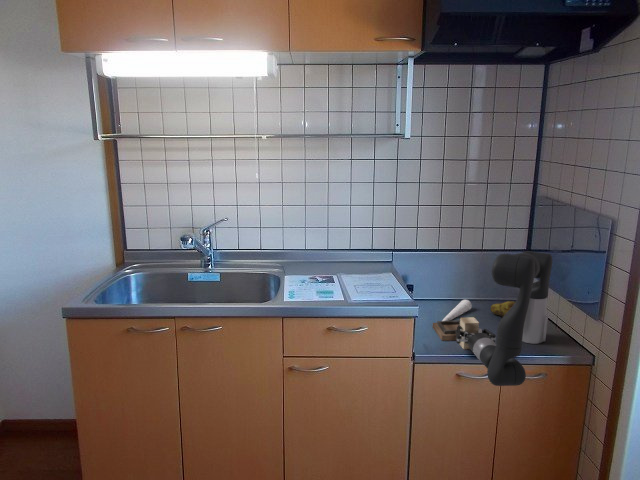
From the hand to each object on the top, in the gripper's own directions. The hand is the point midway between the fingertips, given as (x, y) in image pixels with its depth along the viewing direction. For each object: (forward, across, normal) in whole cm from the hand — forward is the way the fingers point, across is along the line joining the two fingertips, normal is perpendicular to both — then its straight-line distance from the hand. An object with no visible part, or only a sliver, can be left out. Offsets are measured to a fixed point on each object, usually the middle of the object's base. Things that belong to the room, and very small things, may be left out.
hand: (466, 327), depth 177 cm
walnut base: (+8, +2, +6) cm, 11 cm away
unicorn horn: (+25, -5, +7) cm, 26 cm away
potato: (+21, -25, +6) cm, 33 cm away
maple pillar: (-3, 0, +6) cm, 7 cm away
